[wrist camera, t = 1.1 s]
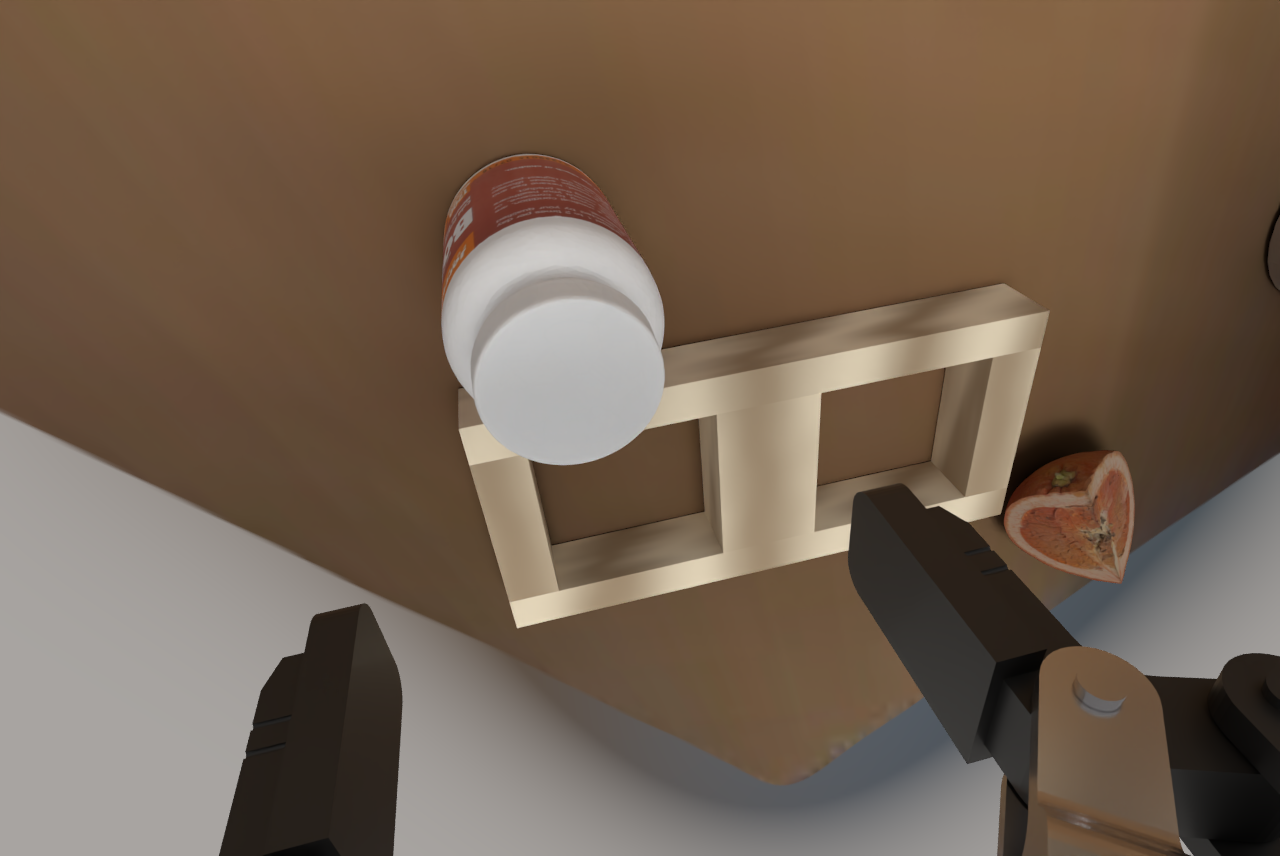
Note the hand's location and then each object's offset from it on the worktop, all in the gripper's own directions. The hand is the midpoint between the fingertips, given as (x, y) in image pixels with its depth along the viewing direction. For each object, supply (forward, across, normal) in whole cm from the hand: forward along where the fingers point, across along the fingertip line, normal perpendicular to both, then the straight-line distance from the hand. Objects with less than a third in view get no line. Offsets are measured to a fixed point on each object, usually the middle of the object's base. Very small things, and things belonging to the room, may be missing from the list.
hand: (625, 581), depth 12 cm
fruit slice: (+18, -25, +18) cm, 36 cm away
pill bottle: (+18, 0, 0) cm, 18 cm away
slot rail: (+18, -8, +11) cm, 22 cm away
